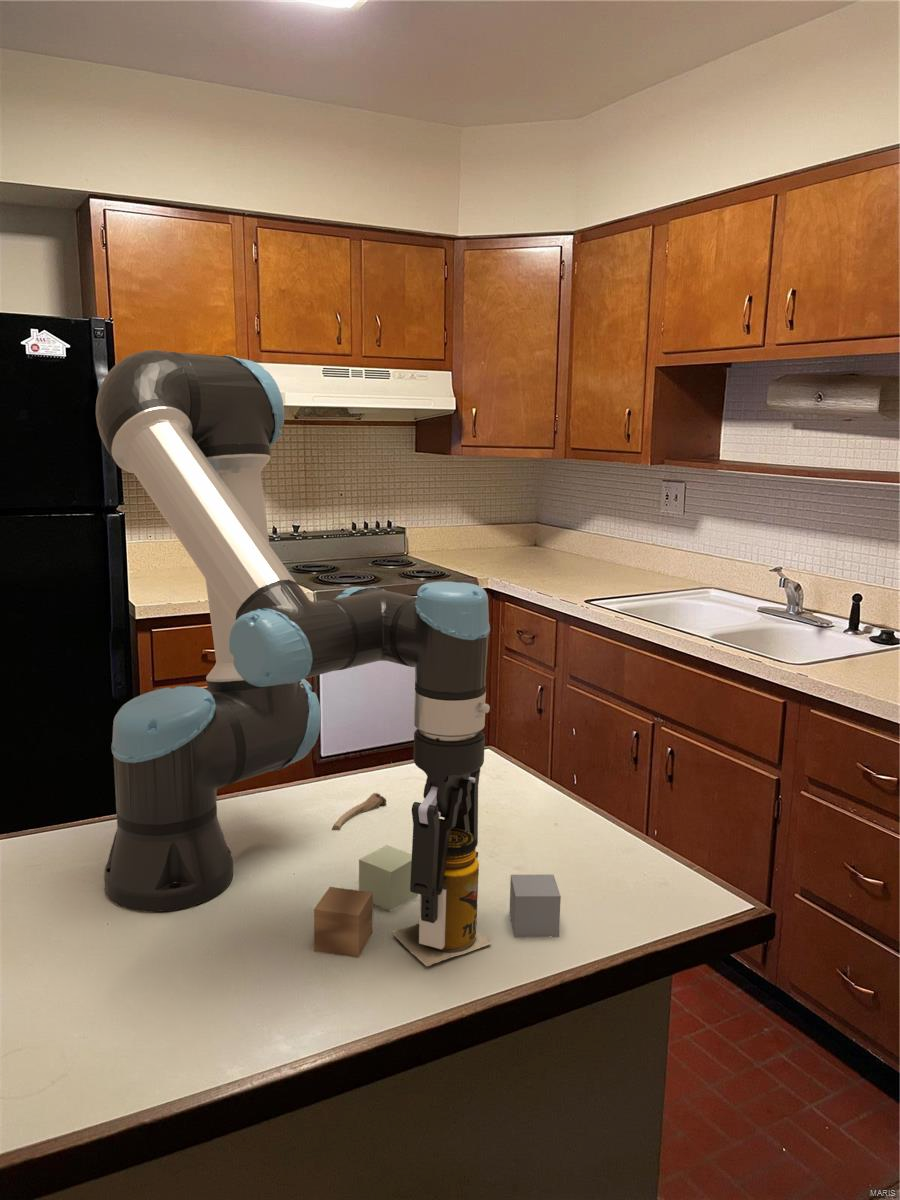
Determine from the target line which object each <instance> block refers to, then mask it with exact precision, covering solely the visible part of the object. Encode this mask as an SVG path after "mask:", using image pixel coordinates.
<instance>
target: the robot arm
mask: <svg viewBox="0 0 900 1200" xmlns="http://www.w3.org/2000/svg"><path fill="white" fill-rule="evenodd" d="M97 392H98V393H97V397H96V401H95V402H96V403H95V419H96V426H97V429H98V433H99V437H100V438H101V440H102V443H103V445H104V446H105V448H106V451H107V452H108V454H109V455H110V456H111V457H112V459H113V460H114V462H115V463H116V465H117V466H118V468H120V469H121V470H123V471H125V472H127V473H131V474H134V476H135V477H136V478H137V480H138V481H139V483H140V484H141V486H142V487H143V488H144V490H145V492H146V493H147V494H148V496H149V497H150V499H151V500H152V502H153V504H154V505H155V507H156V508H157V509H158V511H159V512H160V514H161V515H162V516H163V518H164V520H165V521H166V522H167V524H168V525H169V527H170V528H171V530H172V532H173V533H174V535H175V536H176V538H177V539H178V540H179V542H180V543H181V545H182V546H183V548H184V549H185V551H186V552H187V553H188V555H189V556H190V558H191V560H192V561H193V562H194V564H195V565H196V567H197V569H198V570H199V571H200V573H201V574H202V576H203V577H204V579H205V585H206V592H207V601H208V608H209V616H210V617H209V618H210V623H211V633H212V638H213V649H214V654H215V655H214V656H215V661H216V662H215V665H214V666H213V668H212V669H211V670H210V672H209V673H208V674H207V675H206V677H205V678H206V687H207V689H206V688H202V687H200V686H195V685H194V686H193V685H180V686H176V687H172V688H170V687H164V688H158V689H155V690H152V691H149V692H145V693H142V694H140V695H137V696H135V697H134V698H132V699H130V700H129V701H127V702H126V703H124V704H123V705H122V706H121V707H120V708H119V709H118V711H117V713H116V714H115V716H114V718H113V721H112V722H113V725H112V739H111V740H112V742H111V747H110V749H111V753H112V755H113V769H114V770H113V771H114V773H113V774H114V789H115V791H114V793H115V809H116V830H115V834H114V838H113V841H112V845H111V848H110V851H109V855H108V858H107V859H108V860H107V863H106V865H105V868H104V872H103V873H104V874H103V878H104V882H103V883H104V893H105V896H106V897H107V899H108V900H109V901H110V902H111V903H113V904H115V905H117V906H118V907H120V908H124V909H127V910H132V911H137V912H150V913H151V912H155V913H157V912H169V911H170V912H171V911H175V910H181V909H182V910H183V909H185V908H189V907H193V906H196V905H199V904H202V903H203V902H206V901H209V900H211V899H213V898H215V897H217V896H218V895H219V894H221V893H222V892H223V891H225V890H226V889H227V888H228V886H229V885H230V884H231V883H232V880H233V877H234V862H233V861H234V860H233V854H232V851H231V849H230V848H229V847H228V845H227V843H226V839H225V836H224V832H223V830H222V827H221V825H220V822H219V819H218V808H217V807H218V806H217V804H218V803H217V800H218V799H217V798H218V797H217V792H218V791H217V790H218V789H221V788H223V787H226V786H229V785H233V784H236V783H238V782H241V781H245V780H247V779H251V778H254V777H257V776H260V775H264V774H266V773H269V772H276V771H281V770H282V769H285V768H286V767H288V766H289V765H292V764H294V763H296V762H298V761H301V760H302V759H304V758H306V756H308V755H309V753H310V751H311V750H312V749H313V748H314V746H315V745H316V742H317V740H318V738H319V734H320V730H321V722H322V714H321V706H320V705H321V704H320V701H319V699H318V696H317V693H316V692H315V691H314V692H313V691H312V690H313V686H312V685H311V683H310V682H309V681H307V680H306V679H309V678H312V677H316V676H320V675H323V674H327V673H331V672H336V671H337V672H338V671H342V670H347V669H351V668H356V667H359V666H362V665H363V666H365V665H367V664H371V663H377V662H380V661H381V662H383V661H384V662H391V663H394V664H397V665H402V666H405V667H410V668H414V703H413V705H414V706H413V726H414V727H415V728H416V730H415V731H414V732H413V762H414V764H415V766H416V767H417V768H418V769H420V770H421V771H423V772H424V773H425V775H426V777H427V778H426V781H425V784H424V789H423V800H422V802H417V801H415V802H413V803H412V805H411V816H412V824H413V825H412V844H411V845H412V847H411V854H412V861H411V881H410V891H411V892H412V893H416V894H417V895H419V917H418V918H419V920H418V921H419V922H418V924H419V944H423V945H427V946H431V947H435V948H439V949H443V947H444V946H445V921H446V890H445V889H443V881H444V874H445V867H446V860H447V853H448V846H449V838H450V831H451V829H452V828H458V829H462V830H465V831H468V832H470V833H471V834H473V836H474V837H475V839H476V847H478V843H479V841H478V840H479V783H480V782H479V781H480V776H481V775H480V773H481V768H482V766H483V765H484V762H485V746H486V745H485V743H486V742H485V739H486V738H485V737H486V735H485V732H483V729H484V728H485V727H486V726H485V725H486V724H485V722H486V714H488V713H489V712H490V708H491V707H490V704H488V703H486V697H487V680H486V678H487V668H488V667H487V665H488V664H487V663H488V653H489V652H488V650H489V639H490V632H491V626H490V614H489V613H490V611H489V597H488V594H487V591H486V590H485V589H484V588H482V586H479V585H478V584H475V583H469V582H459V581H457V582H456V581H434V582H427V583H424V584H422V585H421V586H419V588H418V589H417V591H416V593H417V594H416V596H414V595H410V594H409V595H408V594H404V593H399V592H393V591H389V590H386V589H381V588H380V587H374V586H371V587H364V586H352V587H348V588H346V589H344V590H343V591H342V592H341V593H340V594H339V595H338V596H336V597H335V598H332V599H331V598H330V599H324V600H317V601H313V600H310V598H309V597H308V596H307V594H306V593H305V592H304V591H303V588H302V587H300V585H299V584H298V583H297V581H296V580H295V579H294V577H293V576H292V574H291V573H290V572H289V570H288V568H286V566H285V565H284V564H283V562H282V561H281V559H280V557H278V555H277V554H276V552H275V551H274V550H273V548H272V547H271V546H270V539H269V531H268V530H269V529H268V522H267V516H266V507H265V499H264V498H265V497H264V489H263V482H262V471H263V469H264V468H265V467H266V465H267V464H268V463H269V462H270V460H271V449H270V447H272V446H273V445H275V443H276V442H278V440H279V439H280V437H281V435H282V431H281V429H280V428H282V427H283V426H284V424H285V406H284V401H283V397H282V393H281V391H280V388H279V386H278V384H277V382H276V380H275V379H274V377H273V376H272V375H271V373H270V372H269V371H268V370H266V369H265V368H264V367H263V366H262V365H261V364H259V363H257V362H255V361H253V360H250V359H245V358H238V357H235V356H233V355H232V356H231V355H226V354H225V355H213V354H212V355H211V354H203V353H202V354H199V353H187V352H185V353H184V352H176V351H167V350H161V349H158V350H157V349H156V350H155V349H149V350H142V351H139V352H136V353H132V354H130V355H128V356H125V357H124V358H123V359H121V360H120V361H119V362H117V363H116V364H115V365H114V366H113V367H112V368H111V369H110V370H109V371H108V372H107V374H106V375H105V376H104V379H103V380H102V382H101V384H100V387H99V389H98V391H97ZM478 857H479V851H476V858H477V859H478Z"/></svg>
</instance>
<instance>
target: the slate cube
mask: <svg viewBox="0 0 900 1200" xmlns="http://www.w3.org/2000/svg"><path fill="white" fill-rule="evenodd" d="M554 875H555V874H510V885H509V886H510V887H509V888H510V889H509V912H508V913H510V914H509V918H511V919H510V922H511V923H512V924H511V923H510V924H511V928H512V933H513V937H514V938H550V937H549V936H552V937H551V938H559V937H560V921H561V917H560V916H561V900H562V899H561V898H562V897H561V896H562V895H561V893H560V889H559V886H558V884H557V880H556V878H555V876H554Z"/></svg>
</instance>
